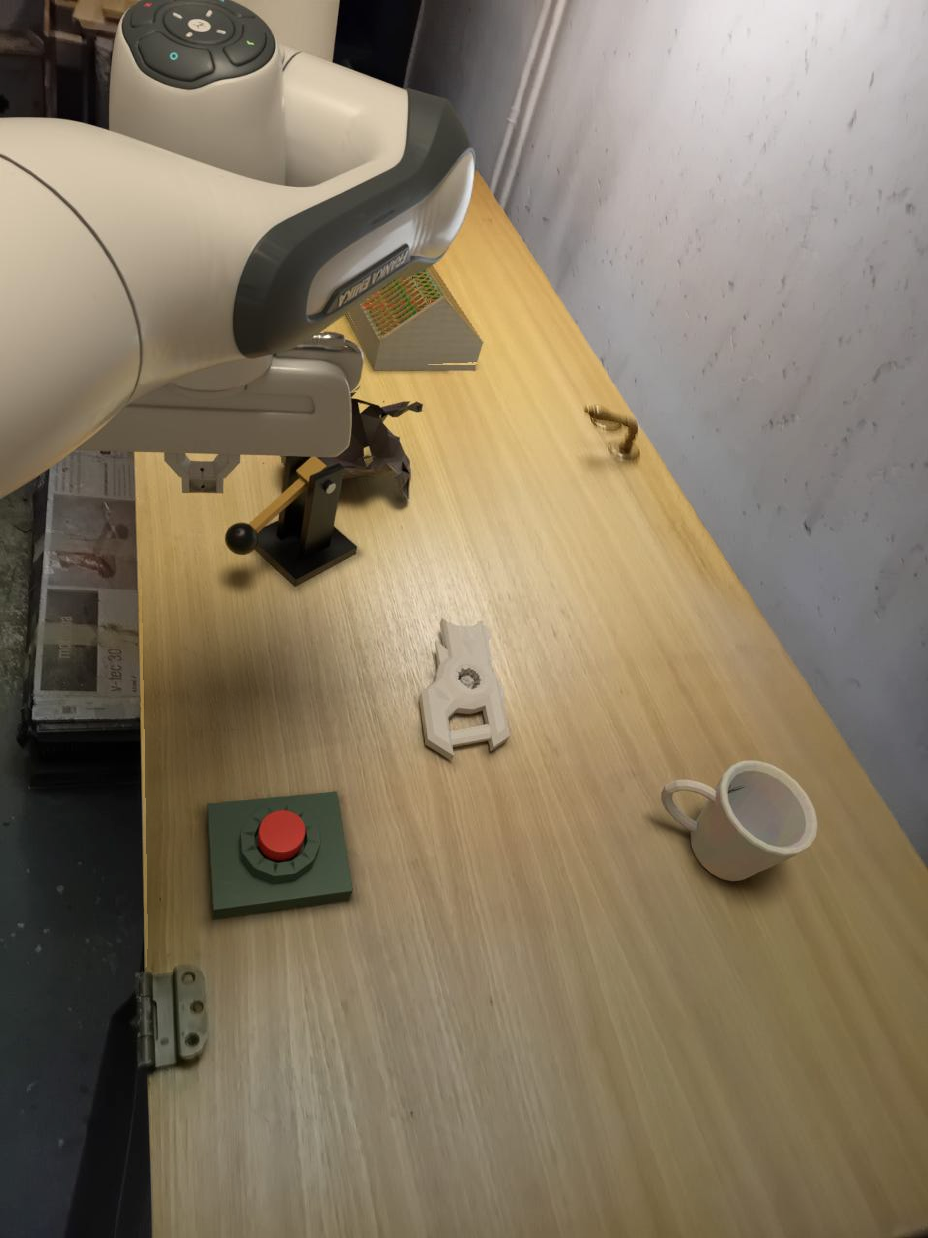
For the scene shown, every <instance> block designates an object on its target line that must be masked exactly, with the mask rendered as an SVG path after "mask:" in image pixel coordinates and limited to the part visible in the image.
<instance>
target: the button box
mask: <svg viewBox="0 0 928 1238" xmlns="http://www.w3.org/2000/svg"><path fill="white" fill-rule="evenodd" d="M280 810H286V811H290V812H293V813H295V814H296V815H298V816H299V817H300V818H301V820H302V821H303V823H304V825H305V837H304V841H303V845H302V848H301V849H300V851H299V852H298V853H297V854H296V855H295V856H294V857H292V858H290V859H287V860H281V861H279V860H273V859H270V858H268V857H267V856H265V855H264V854H263V853H262V851H261V850H260V848H259V845H258V833H259V827H260V824H261V822H262V821H263V819H264V818H265V817H266V816H267V815H269V814H270V813H272V812H275V811H280ZM341 813H342V812H341V807H340V801H339V795H338V791H336V790H335V791H326V792H315V793H305V794H304V793H303V794H293V795H284V796H273V797H262V798H253V799H251V798H250V799H243V800H242V799H241V800H231V801H220V802H209V803H207V804H206V828H207V829H206V830H207V848H208V862H209V863H208V865H209V866H208V867H209V883H210V884H209V885H210V901H211V919H212V920H220V919H226V918H233V917H241V916H248V915H254V914H255V915H256V914H261V913H262V914H263V913H269V912H276V911H282V910H289V909H290V910H291V909H297V908H304V907H311V906H318V905H325V904H332V903H339V902H340V903H341V902H346V901H350V899H351V897H352V894H353V891H354V888H353V883H352V882H353V881H352V876H351V869H350V863H349V858H348V857H349V856H348V851H347V844H346V840H345V839H346V838H345V833H344V827H343V820H342V814H341Z"/></svg>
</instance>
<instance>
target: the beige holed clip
mask: <svg viewBox="0 0 928 1238" xmlns="http://www.w3.org/2000/svg"><path fill="white" fill-rule="evenodd" d="M439 628H440V634H441V641H442V644H441V643H440V642H438V641H437V640H435V641H434V646H435V655H436V665H437V668H436V671H435V676H434V681H433V682H432V683H430V684H429V685H428V686H426V688H424V689H423V690H422V691H421V692H420V694H419V696H418V699H419V706H420V714H421V722H422V728H423V729H422V730H423V737H424V743H425V745H426V746H428V747H429V748H431V749H432V750H434V751H435V752H437V753H439V754H440V755H442V756H443V757H445V758H446V759H448V760H450V761H452V760H453V758H454V757H455V753H454V752H455V751H454V747H456V748H457V747H461V746H466V745H471V744H477V743H482V742H487V741H488V746H489V751H490V753H491V752H492V751H494V750H495V749H497V748H499V746H501V745H502V744H504V743H506V742H507V741H508V739H509V738H510V736H511V733H510V729H509V723H508V719H507V715H506V709H505V704H504V700H505V699H504V698H505V688H506V686H505V685H503V686H501V684H500V680H499V679H498V677H497V675H496V672H495V671H494V668H493V666H492V660H493V655H492V652H491V651H492V650H491V646H490V645H491V644H490V639H491V637H492V634H491V630H490V627H488V626H486V625H484V619H481V620H479V622H477V623H476V624H474V625H461V624H460V625H459V624H455V623H453V622H451V621H448V620H446V619H445V618H443V617H441V618H440V621H439ZM479 712H482V713H483V719H484V724H480V725H475V726H470V727H465V728H460V729H454V730H451V728H450V721H449V719H450V718H452V716H454V715H455V714H463V715H473V714H475V713H479Z"/></svg>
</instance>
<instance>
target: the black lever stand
mask: <svg viewBox="0 0 928 1238" xmlns="http://www.w3.org/2000/svg"><path fill="white" fill-rule="evenodd" d="M310 458H311V457H308V456H286V459H285V466H284V467H283V477H282V485H281V493H280V495H281V494H282V493H283V492H284V491H286V490H287V489H288V488H289V487H290V486H291V485H292V484H293V483H294V482H295V481H297V480H298V479H299V476H298V474H297V472H296V470H297V469H298V468H300V467H301V466H302V465H303V464H304V463H305V462H306V461H307V460H308V459H310ZM317 458H318V459H319V458H320V457H317ZM344 469H345V468H344V467H343V466H342V465H341V464H340V463H337V464H335V465H333V466H331V467H328V468H326V469H324V470H322V471H319V472H317V473H315V474H313V475H310V478H309V484H308V488H307V489H306V490H304V491H303V492H302V493H301V494H300V495H299V496H298V497H297V498H296V499H295V500H293V501H292V502H291V503H290V504H289V505H288V506H287V507H286V508H285V509H284V510H282V511H281V512H280V513H279V514H278V518H277V520H276V521H273V522H271V523H268V524H267V525H266V526H265V527H264V528H263V529H262V530H260V531H259V532H258V533H257V534H258V544H257V547H256V548H255V550H254V551H256V552H257V553H258V554H259V555H260V556H262V557H263V558H264V559H265V560H266V561H267V562H268V564H270V565H271V566H272V567H273V568H274V569H276V570H277V572H279V573H280V574H281V575H282V576H283V578H285V579H286V580H287V581H288V582H290V584H292V586H294V587H297V586H299V585H301V584H302V583H304V582H306V581H308V580H309V579H312V578H314V577H316V576H317V575H319V574H321V573H323V572H324V571H327V570H328V569H330V568H332V567H334V566H336V565H337V564H339V563H341V562H343V561H344V560H346V559H349V558H350V557H352V556H354V555H355V554H357V551H358V546H357V545H356V544H355V543H354V542H353V541H352V540H350V539H349V537H348V536H346V535H345V534H344V533H342V532H341V531H340V530H339V529H338V528H337V527H335V521H336V516H337V511H338V507H339V506H338V504H339V502H340V501H339V500H340V495H341V491H342V490H341V489H342V483H343V480H344V479H343V474H344Z"/></svg>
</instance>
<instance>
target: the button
mask: <svg viewBox="0 0 928 1238" xmlns="http://www.w3.org/2000/svg"><path fill="white" fill-rule="evenodd" d="M304 837H305V825H304V823H303V821H302V820H301V818H300V817H299V816H298V815H296V814H295V813H293V812H290V811H286V810H280V811H275V812H272V813H270V814H269V815H267V816H266V817H265V818H264V819H263V821H262V822H261V824H260V827H259V833H258V845H259V848H260V850H261V851H262V853H263V854H264V855H265V856H267V857H268V858H270V859H273V860H279V861H281V860H287V859H290V858H292V857H294V856H295V855H296V854H297V853H298V852H299V851H300V849H301V848H302V845H303V841H304Z"/></svg>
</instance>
